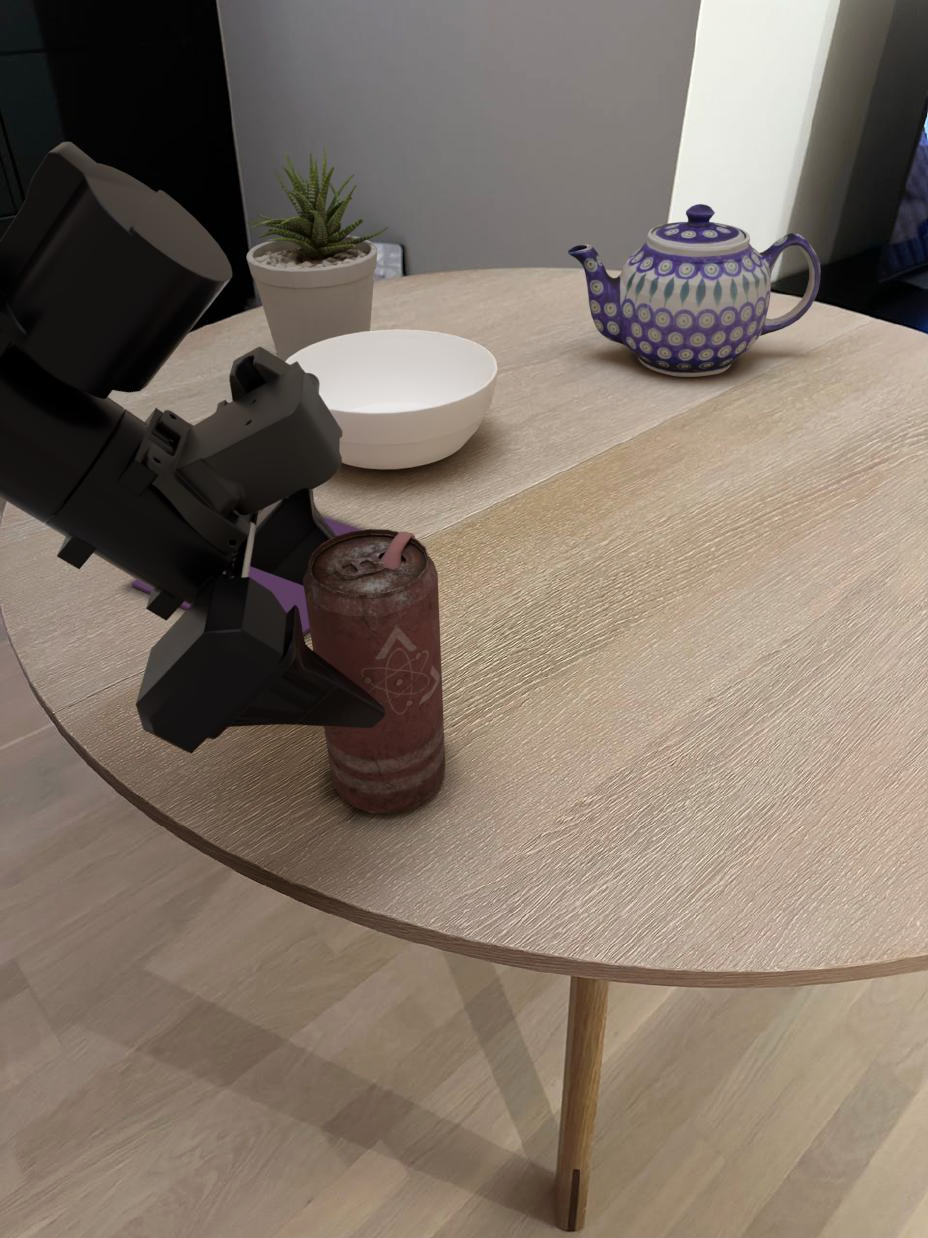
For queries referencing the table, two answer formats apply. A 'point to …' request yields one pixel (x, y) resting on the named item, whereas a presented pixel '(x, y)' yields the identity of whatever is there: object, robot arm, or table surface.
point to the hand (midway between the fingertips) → (377, 655)
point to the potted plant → (313, 268)
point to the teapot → (692, 294)
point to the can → (381, 663)
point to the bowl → (401, 393)
